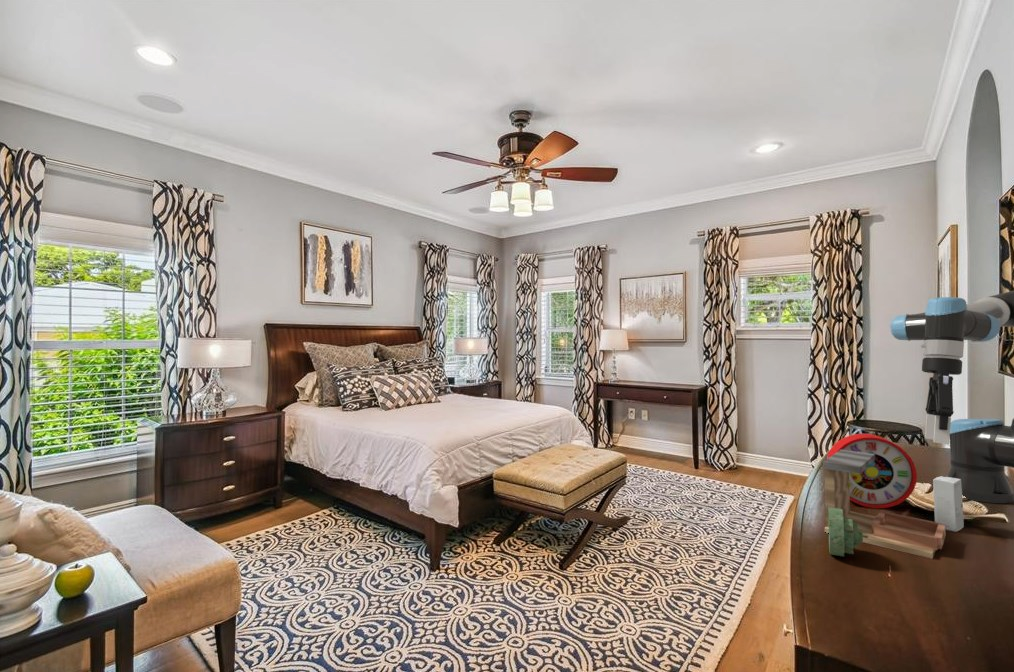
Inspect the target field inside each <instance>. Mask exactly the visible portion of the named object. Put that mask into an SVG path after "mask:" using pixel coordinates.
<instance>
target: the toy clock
mask: <svg viewBox="0 0 1014 672" xmlns="http://www.w3.org/2000/svg"><path fill="white" fill-rule="evenodd" d="M839 450H847V451H855V452H862V453H870V454H875V461H874V462H872V463H871V464H870V465H869V466H868V467H867V468H866V469H865V470H864V471H863V472H862V473H861V474H857V473H850V472H849V493H850V502H853V503H855V504H856V505H859V506H863V507H865V508H870V509H886V508H891V507H895V506H897V505H899V504H902V503H903V502H905V501H906V500H907V499H909V497H910V496H911V495H912V493H913V491H914V490H915V487H916V485H917V480H918V473H917V469H916V465H915V463H914V461H913V459H912V457H911V456H910V454H908V453H907V452H906V451H905V450H904V449H903V448H902V447H900V446H899V445H897V444H896V443H894V442H893V441H891V440H888V439H887V438H884V437H882V436H880V435H876V434H872V433H871V434H870V433H855V434H850V435H848V436H844V437H843V438H841V439H839V440H838V441H837V442H835V443H834V444H833V446H832V447H831V448H830V449H829V451H828V453H827V457H826V459H828V458H829V457H831V456H832V455H834V454H835V453H837V452H838V451H839Z"/></svg>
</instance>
